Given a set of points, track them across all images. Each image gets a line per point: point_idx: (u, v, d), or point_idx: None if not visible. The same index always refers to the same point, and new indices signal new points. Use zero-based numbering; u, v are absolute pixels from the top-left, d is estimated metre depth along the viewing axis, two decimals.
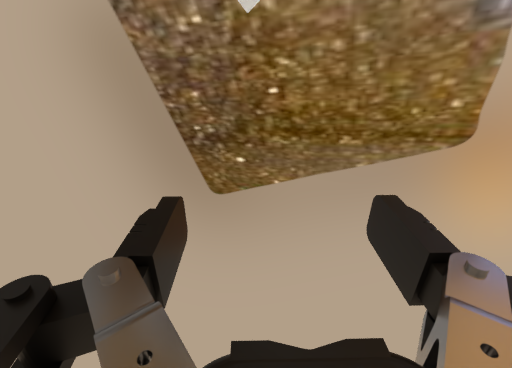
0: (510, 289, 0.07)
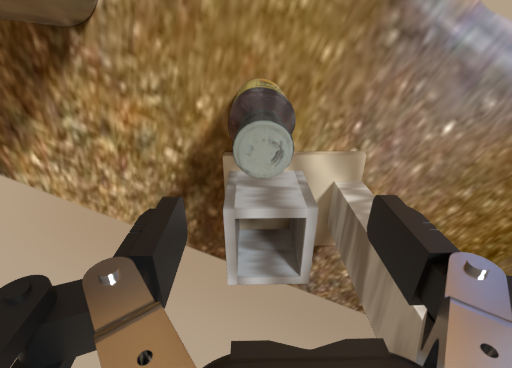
0: (510, 289, 0.07)
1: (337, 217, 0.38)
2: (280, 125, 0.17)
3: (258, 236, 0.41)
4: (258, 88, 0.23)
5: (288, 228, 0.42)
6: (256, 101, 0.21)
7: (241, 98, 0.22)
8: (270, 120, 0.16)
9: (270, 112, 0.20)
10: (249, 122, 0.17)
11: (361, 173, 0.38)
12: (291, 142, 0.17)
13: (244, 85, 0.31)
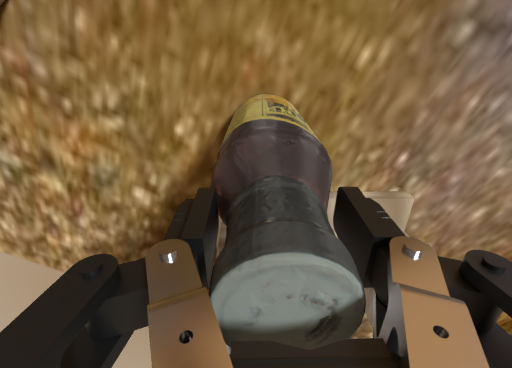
0: (443, 269, 0.08)
1: None
2: (337, 262, 0.06)
3: None
4: (268, 121, 0.13)
5: None
6: (263, 154, 0.11)
7: (235, 145, 0.11)
8: (309, 249, 0.06)
9: (296, 187, 0.09)
10: (251, 251, 0.06)
11: (405, 222, 0.28)
12: (362, 299, 0.06)
13: (243, 105, 0.20)
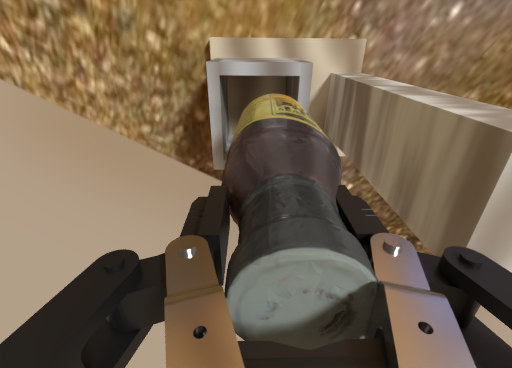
0: (423, 265, 0.08)
1: (334, 109, 0.35)
2: (353, 258, 0.06)
3: None
4: (278, 120, 0.13)
5: None
6: (275, 152, 0.11)
7: (246, 144, 0.11)
8: (326, 245, 0.06)
9: (308, 185, 0.09)
10: (268, 247, 0.06)
11: (360, 63, 0.35)
12: None
13: (251, 104, 0.21)
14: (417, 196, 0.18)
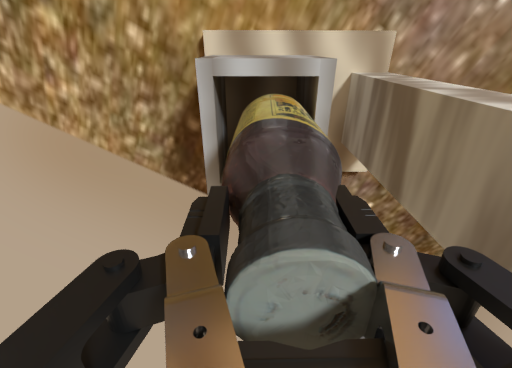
0: (423, 265, 0.08)
1: (356, 117, 0.28)
2: (352, 259, 0.06)
3: None
4: (278, 121, 0.13)
5: None
6: (275, 153, 0.11)
7: (246, 145, 0.11)
8: (325, 246, 0.06)
9: (308, 185, 0.09)
10: (267, 248, 0.06)
11: (388, 60, 0.29)
12: None
13: (251, 105, 0.20)
14: None
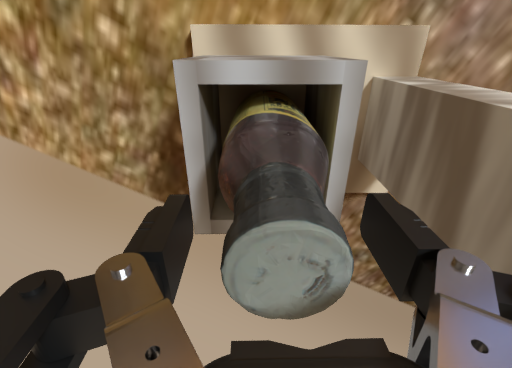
0: (496, 284, 0.07)
1: (379, 132, 0.23)
2: (328, 229, 0.07)
3: None
4: (270, 115, 0.14)
5: None
6: (266, 144, 0.12)
7: (240, 137, 0.13)
8: (306, 218, 0.07)
9: (295, 172, 0.10)
10: (258, 220, 0.07)
11: (418, 62, 0.24)
12: (350, 261, 0.08)
13: (245, 100, 0.22)
14: None
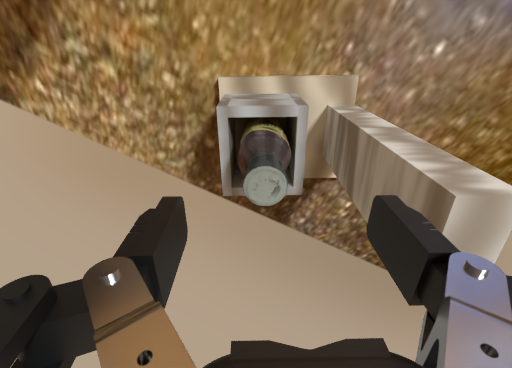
0: (510, 289, 0.07)
1: (330, 138, 0.38)
2: (277, 169, 0.23)
3: None
4: (261, 130, 0.30)
5: None
6: (259, 144, 0.28)
7: (248, 141, 0.28)
8: (270, 165, 0.23)
9: (270, 154, 0.26)
10: (254, 167, 0.23)
11: (354, 96, 0.39)
12: (285, 180, 0.23)
13: (250, 120, 0.37)
14: None
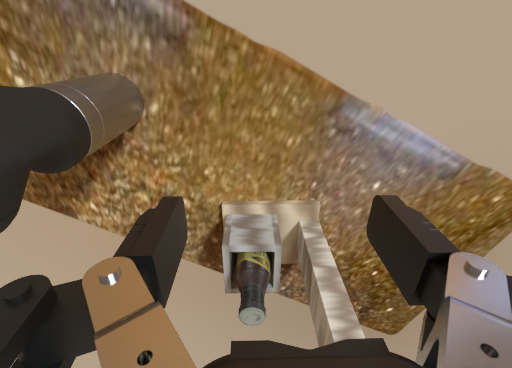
0: (510, 289, 0.07)
1: (300, 246, 0.55)
2: (259, 308, 0.39)
3: None
4: (251, 263, 0.46)
5: None
6: (249, 277, 0.44)
7: (242, 273, 0.44)
8: (254, 306, 0.39)
9: (256, 289, 0.42)
10: (245, 307, 0.39)
11: (317, 215, 0.55)
12: (264, 314, 0.39)
13: None
14: None
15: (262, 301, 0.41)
